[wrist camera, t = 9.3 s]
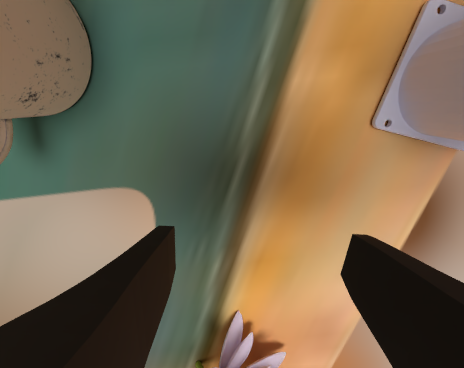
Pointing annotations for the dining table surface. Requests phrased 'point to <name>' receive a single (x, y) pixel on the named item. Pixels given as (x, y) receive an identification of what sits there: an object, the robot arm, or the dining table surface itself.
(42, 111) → the teacup with lid
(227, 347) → the water lily
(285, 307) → the dining table surface
